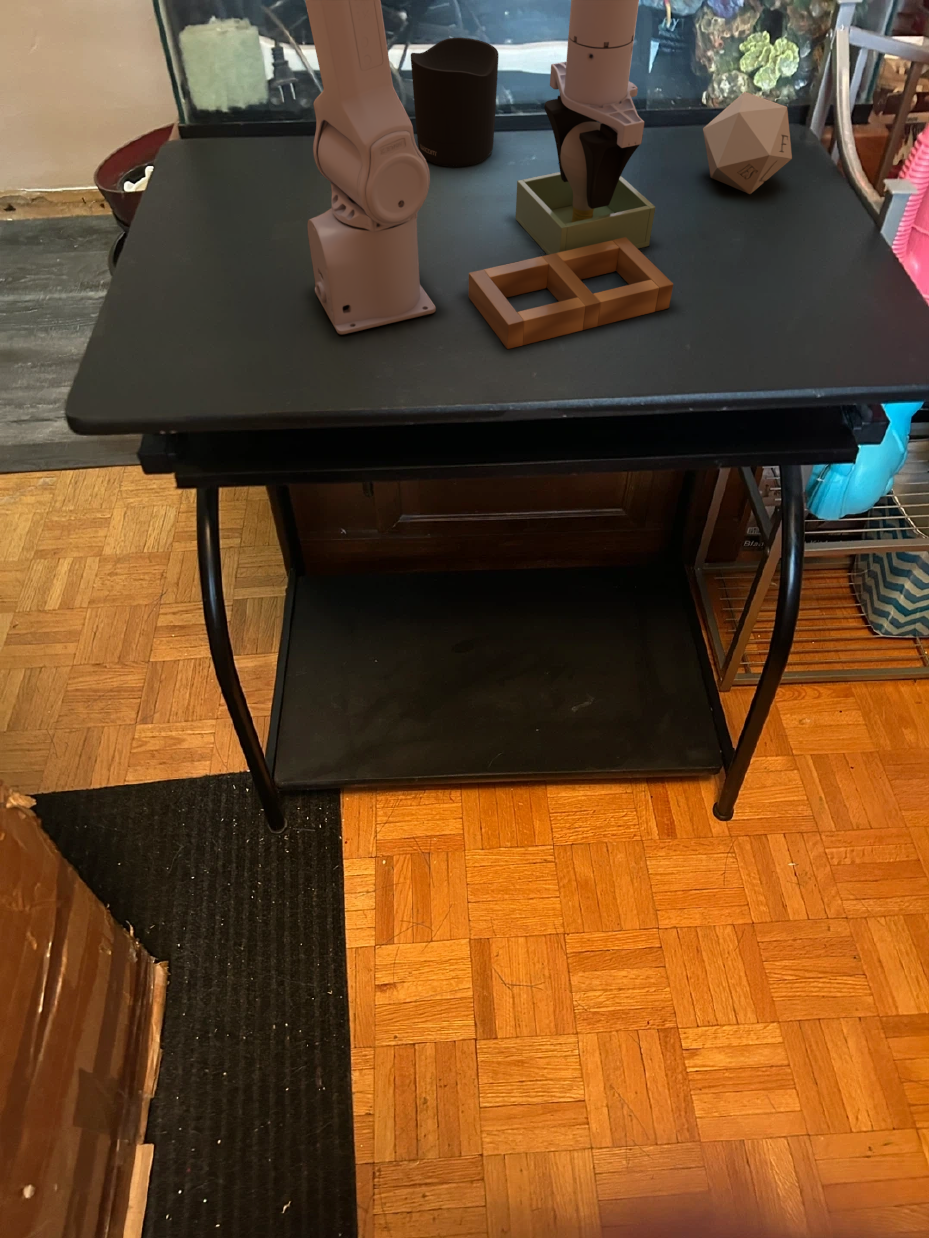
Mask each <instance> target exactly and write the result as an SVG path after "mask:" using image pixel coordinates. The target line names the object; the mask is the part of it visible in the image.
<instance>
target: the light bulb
mask: <svg viewBox="0 0 929 1238" xmlns="http://www.w3.org/2000/svg"><path fill="white" fill-rule="evenodd" d="M600 124H601V123H600V122H599V121H597V122H583V123H581V124H579V125H577V126H575V127H574V128H573V129H572V130H571V131H570V132H569V133H568V134H567V136H566V137H565V139H564V142H563V144H562V147H561V156H560V158H561V165H562V168H563V171H564V173H565V176H566V178H567V180H568V182H569V184H570V186H571V188H572V191H573V215H572V222H576V221H581V220H585V219H590V218H593V210H594V209H591V208H590V207H589V206H588V202H587V169H586V160H585V155H584V150H583V147H582V144H581V141H580V139H579V134H580V133H583V132H588V131H593V130H600Z"/></svg>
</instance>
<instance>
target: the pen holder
mask: <svg viewBox="0 0 929 1238" xmlns="http://www.w3.org/2000/svg"><path fill="white" fill-rule="evenodd" d="M410 65H411V78H412V88H413V89H412V91H413V103H414V117H415V127H416V128H415V129H416V140H417V148H418V150H419V151H420V152H421V154H422V155H423V157H424V158H425V160H426V161H428V162H430V163H432V164H434V165H438V166H442V167H452V168H453V167H454V168H455V167H456V168H458V167H459V168H460V167H467V166H473V165H476V164H479V163H481V162H483V161H485V160H486V159H487V158H488V157H490V155H491V153H492V152H493V148H494V140H495V139H494V138H495V126H496V107H497V93H498V92H497V91H498V73H499V51H498V49H497V48H496V47H495V46H493V45H492V44H490V43H488V42H485V41H483V40H480V39H475V38H469V37H450V38H445V39H442V40H441V41H439V42H437V43H435V44H434V45H432V46H431V47H430V48H427V50H425V51H422V52H411V53H410Z"/></svg>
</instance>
